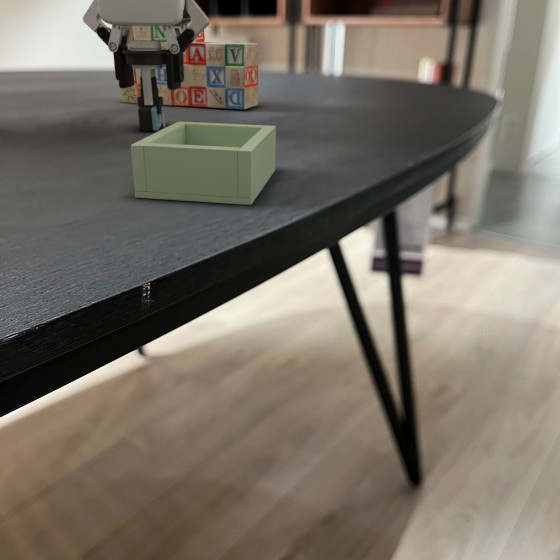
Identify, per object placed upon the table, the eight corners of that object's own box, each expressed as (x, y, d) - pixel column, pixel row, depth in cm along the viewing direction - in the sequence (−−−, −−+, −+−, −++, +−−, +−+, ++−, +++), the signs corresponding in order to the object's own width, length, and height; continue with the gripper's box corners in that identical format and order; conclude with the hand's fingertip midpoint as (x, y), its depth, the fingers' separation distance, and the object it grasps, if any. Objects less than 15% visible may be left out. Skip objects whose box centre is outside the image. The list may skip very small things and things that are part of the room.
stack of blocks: (259, 105, 91) (259, 21, 86) (244, 111, 85) (243, 20, 80) (141, 98, 97) (135, 18, 92) (121, 102, 92) (113, 18, 86)
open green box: (135, 197, 43) (130, 144, 42) (180, 165, 53) (177, 121, 52) (251, 205, 42) (251, 150, 40) (275, 170, 52) (276, 125, 50)
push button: (135, 123, 74) (127, 39, 70) (176, 122, 74) (171, 39, 70) (127, 132, 68) (117, 41, 64) (172, 132, 68) (165, 41, 64)
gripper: (223, -83, 64) (226, 87, 71) (79, -82, 66) (97, 82, 74) (205, -95, 57) (211, 94, 65) (45, -94, 59) (69, 88, 67)
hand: (150, 86), depth 69 cm, fingers closed on push button, 5 cm apart
